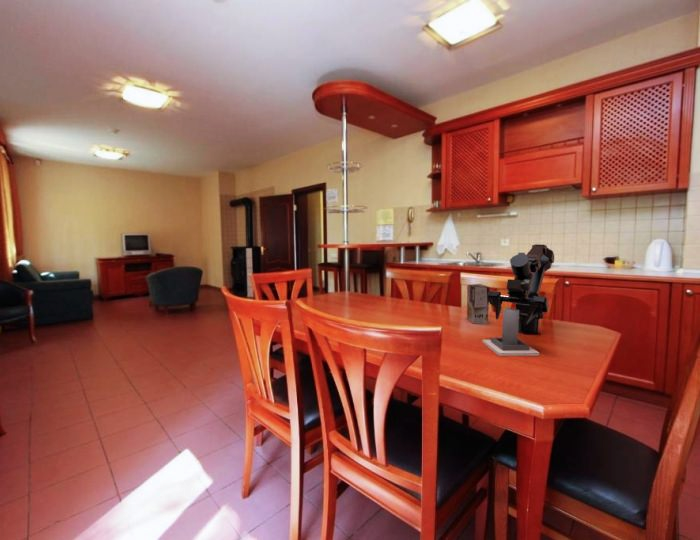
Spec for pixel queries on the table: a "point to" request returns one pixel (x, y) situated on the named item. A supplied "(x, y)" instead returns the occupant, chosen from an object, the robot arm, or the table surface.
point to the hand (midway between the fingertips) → (510, 321)
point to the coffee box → (478, 304)
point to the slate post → (510, 326)
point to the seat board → (510, 348)
